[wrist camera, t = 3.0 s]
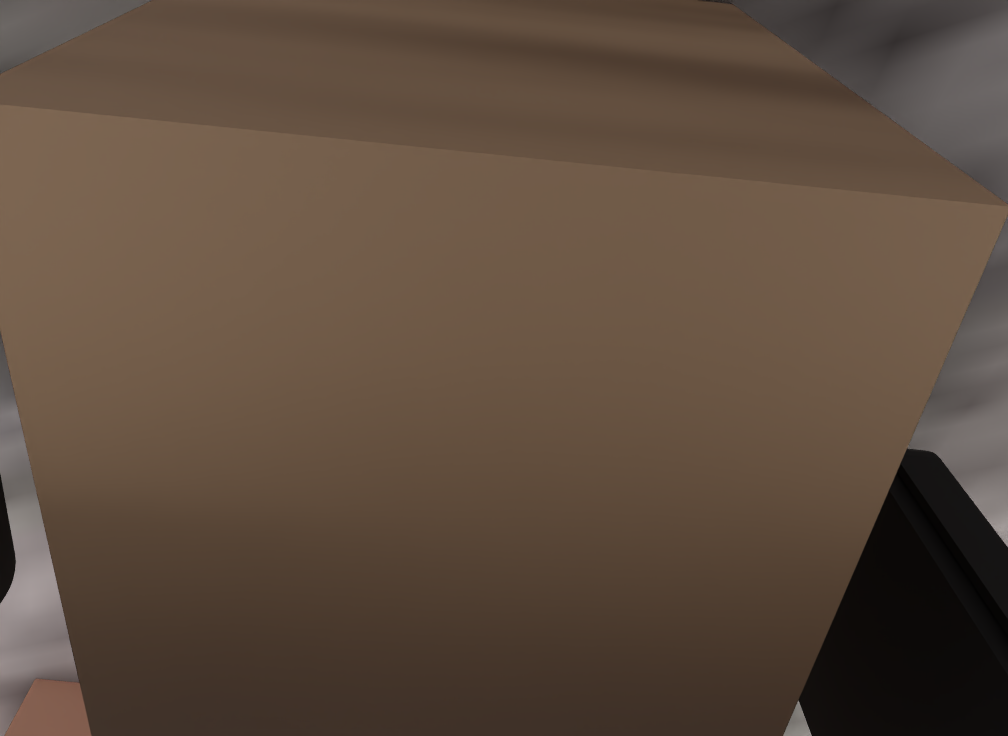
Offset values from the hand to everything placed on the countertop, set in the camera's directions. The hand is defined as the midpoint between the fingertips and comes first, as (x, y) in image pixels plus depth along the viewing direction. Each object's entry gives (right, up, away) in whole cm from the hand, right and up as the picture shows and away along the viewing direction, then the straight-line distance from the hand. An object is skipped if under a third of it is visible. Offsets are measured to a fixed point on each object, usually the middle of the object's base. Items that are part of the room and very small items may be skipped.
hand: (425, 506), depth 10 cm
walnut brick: (0, +2, +2) cm, 3 cm away
